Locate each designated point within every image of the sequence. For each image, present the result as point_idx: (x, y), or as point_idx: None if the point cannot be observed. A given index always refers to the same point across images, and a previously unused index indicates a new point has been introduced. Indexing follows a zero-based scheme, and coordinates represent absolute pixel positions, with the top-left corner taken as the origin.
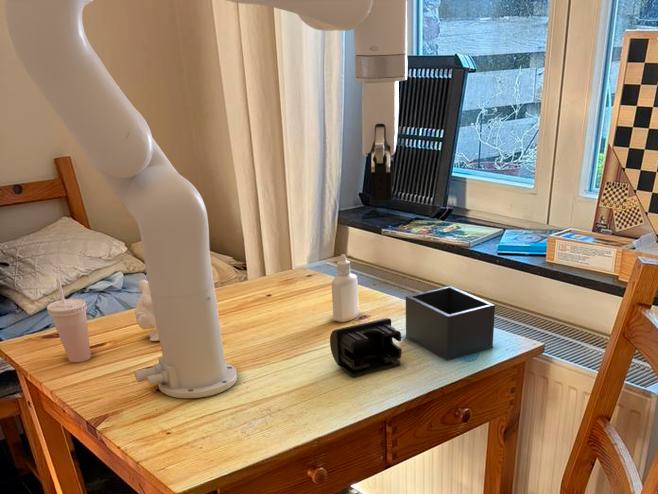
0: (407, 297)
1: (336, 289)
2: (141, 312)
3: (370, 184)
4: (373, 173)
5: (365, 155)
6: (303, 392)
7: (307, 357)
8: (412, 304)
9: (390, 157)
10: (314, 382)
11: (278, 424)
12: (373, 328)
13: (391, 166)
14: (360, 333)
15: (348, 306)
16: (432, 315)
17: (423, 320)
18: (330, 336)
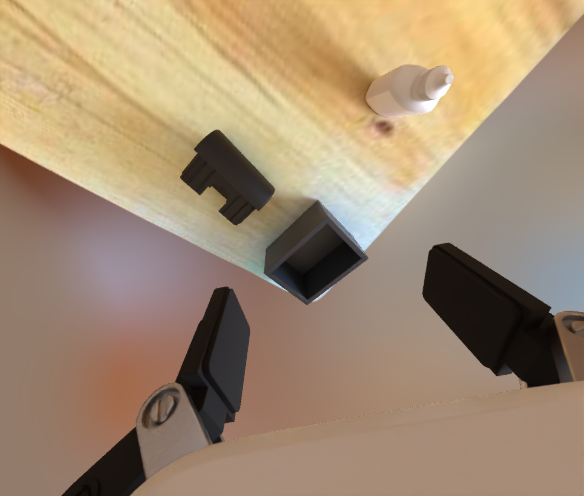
0: (324, 218)
1: (388, 81)
2: None
3: (200, 326)
4: (189, 379)
5: (147, 481)
6: (136, 120)
7: (235, 85)
8: (314, 224)
9: (523, 381)
10: (167, 125)
11: (48, 118)
12: (233, 193)
13: (473, 349)
14: (210, 181)
15: (380, 106)
16: (283, 251)
17: (295, 235)
18: (211, 132)
